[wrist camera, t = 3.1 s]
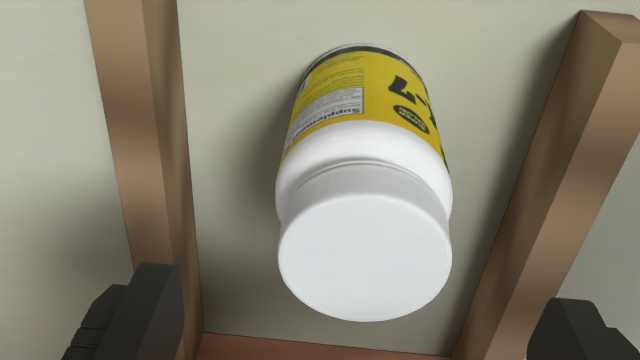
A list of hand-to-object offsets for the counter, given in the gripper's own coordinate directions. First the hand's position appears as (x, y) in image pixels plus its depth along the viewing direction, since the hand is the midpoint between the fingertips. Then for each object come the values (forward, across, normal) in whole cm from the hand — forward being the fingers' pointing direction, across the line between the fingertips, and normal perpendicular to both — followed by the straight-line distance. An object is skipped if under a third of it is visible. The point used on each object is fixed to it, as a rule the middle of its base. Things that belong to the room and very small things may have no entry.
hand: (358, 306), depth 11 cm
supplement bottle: (+9, 0, -1) cm, 9 cm away
